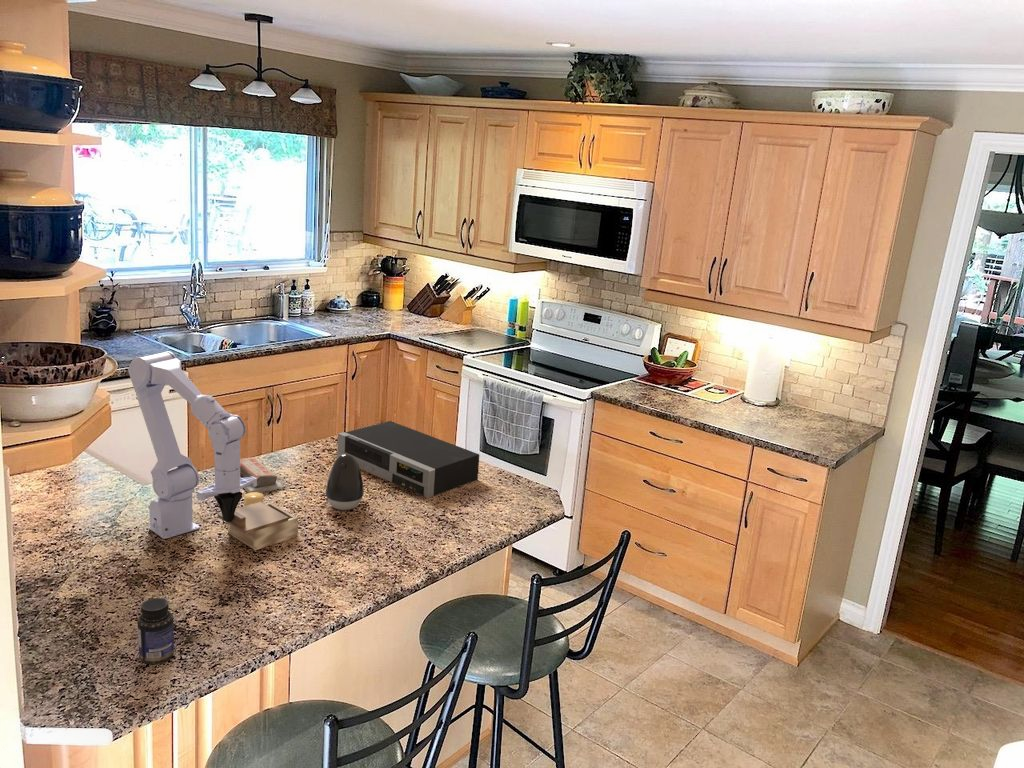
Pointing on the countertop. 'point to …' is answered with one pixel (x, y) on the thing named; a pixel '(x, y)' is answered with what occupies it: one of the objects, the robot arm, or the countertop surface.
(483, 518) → the countertop surface
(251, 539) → the wooden box
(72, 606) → the countertop surface
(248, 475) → the packaged product
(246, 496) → the cream bullet-shaped knob
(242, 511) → the lid
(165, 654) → the pill bottle
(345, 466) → the black egg-shaped device
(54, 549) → the countertop surface
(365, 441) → the vcr player
